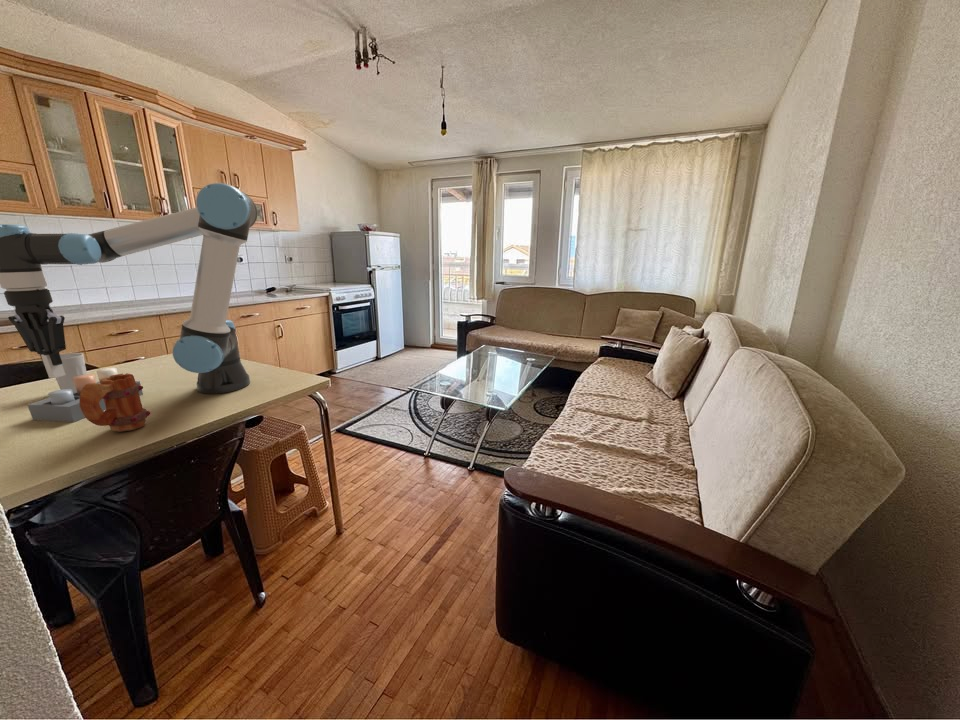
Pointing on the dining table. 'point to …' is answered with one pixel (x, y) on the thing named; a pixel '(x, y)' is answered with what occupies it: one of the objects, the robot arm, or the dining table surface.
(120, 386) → the mug
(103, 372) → the button ivory
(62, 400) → the button slate
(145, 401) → the dining table surface
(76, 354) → the cup
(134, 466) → the dining table surface
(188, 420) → the dining table surface
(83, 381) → the button terracotta
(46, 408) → the grey tray
